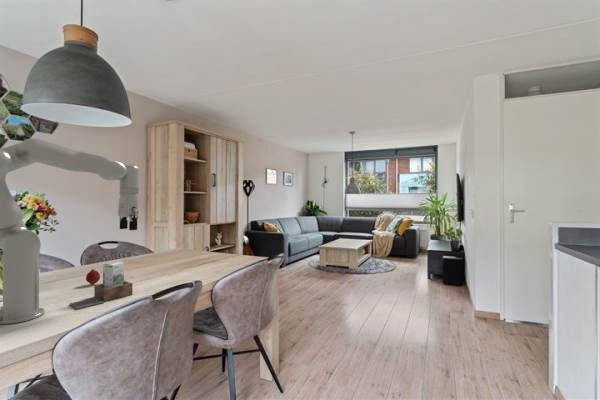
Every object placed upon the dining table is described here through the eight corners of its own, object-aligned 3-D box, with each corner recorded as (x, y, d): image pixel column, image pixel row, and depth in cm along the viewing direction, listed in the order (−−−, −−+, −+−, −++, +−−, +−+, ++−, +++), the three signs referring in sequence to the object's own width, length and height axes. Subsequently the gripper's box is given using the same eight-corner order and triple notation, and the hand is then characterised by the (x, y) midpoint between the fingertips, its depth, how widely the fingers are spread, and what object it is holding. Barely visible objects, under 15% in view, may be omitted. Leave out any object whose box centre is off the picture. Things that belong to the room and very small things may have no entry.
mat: (77, 309, 113) (77, 308, 113) (69, 304, 119) (69, 303, 119) (103, 303, 121) (103, 301, 121) (95, 298, 126) (95, 297, 126)
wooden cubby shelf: (104, 301, 123) (104, 289, 123) (94, 296, 129) (94, 285, 129) (132, 294, 131) (132, 283, 131) (121, 290, 138) (121, 279, 138)
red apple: (102, 282, 151) (102, 267, 151) (96, 286, 145) (96, 269, 145) (89, 283, 150) (89, 267, 150) (83, 286, 144) (83, 270, 144)
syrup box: (114, 293, 134) (113, 261, 134) (124, 294, 132) (124, 261, 132) (102, 297, 128) (102, 263, 128) (113, 298, 127) (113, 264, 127)
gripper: (112, 192, 138) (111, 228, 137) (128, 191, 127) (128, 231, 127) (129, 192, 144) (128, 228, 143) (146, 192, 133) (145, 230, 133)
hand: (128, 229), depth 135 cm, fingers open, 9 cm apart
